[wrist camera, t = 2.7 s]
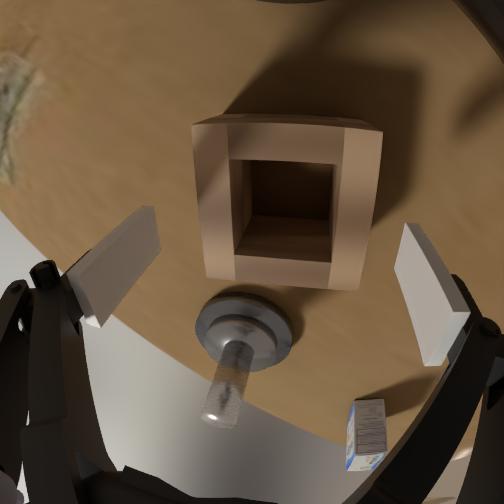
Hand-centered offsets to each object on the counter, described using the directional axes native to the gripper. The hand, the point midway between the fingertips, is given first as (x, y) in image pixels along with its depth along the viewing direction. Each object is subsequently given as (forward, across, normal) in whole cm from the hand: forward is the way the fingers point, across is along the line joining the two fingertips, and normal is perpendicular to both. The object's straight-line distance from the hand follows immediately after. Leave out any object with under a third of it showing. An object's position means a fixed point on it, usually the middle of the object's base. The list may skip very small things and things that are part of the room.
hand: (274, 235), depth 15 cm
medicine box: (+9, +13, -32) cm, 35 cm away
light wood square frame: (+8, 0, 0) cm, 8 cm away
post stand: (+8, -4, -16) cm, 18 cm away
